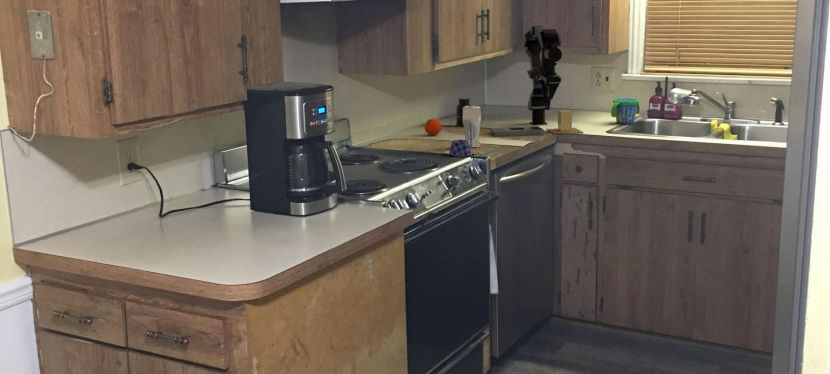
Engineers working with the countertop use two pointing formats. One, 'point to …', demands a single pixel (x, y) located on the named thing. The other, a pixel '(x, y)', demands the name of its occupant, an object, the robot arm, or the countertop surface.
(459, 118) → the supplement bottle
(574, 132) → the copper pad
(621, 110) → the snack cup
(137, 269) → the countertop surface
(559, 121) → the wood grain block
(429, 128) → the clementine
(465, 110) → the beer glass
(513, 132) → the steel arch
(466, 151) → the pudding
